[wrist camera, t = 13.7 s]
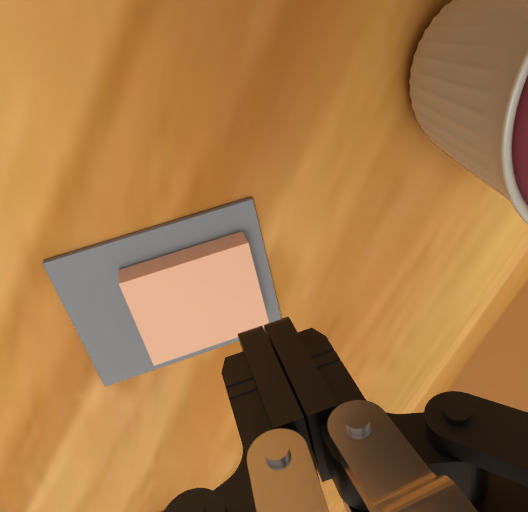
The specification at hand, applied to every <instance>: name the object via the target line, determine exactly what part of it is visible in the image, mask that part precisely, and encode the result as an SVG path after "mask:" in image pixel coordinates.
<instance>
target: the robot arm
mask: <svg viewBox="0 0 528 512" xmlns="http://www.w3.org/2000/svg"><path fill="white" fill-rule="evenodd" d="M264 330H265V331H264ZM238 338H239V341H240V345H241V348H242V351H243V352H240V353H237V354H234V355H232V356H229V357H226V358H225V361H224V365H223V369H222V376H223V379H224V383H225V386H226V389H227V393H228V396H229V400H230V403H231V407H232V410H233V414H234V417H235V420H236V424H237V427H238V431H239V434H240V438H241V441H242V445H243V455H242V460H241V462H240V465H239V466H238V468H237V470H236V471H235V473H234V474H233V475H232V476H231V477H230V478H229V479H228V480H227V481H225V482H224V483H223V484H221V485H220V486H219V487H217V488H216V489H215V490H213V491H212V490H210V489H206V488H195V489H191V490H187V491H185V492H183V493H181V494H180V495H178V496H177V497H176V498H174V499H173V500H172V501H171V502H170V503H169V505H168V506H167V507H166V509H165V510H164V512H329V509H328V506H327V503H326V500H325V497H324V494H323V491H322V488H321V485H320V481H319V477H318V473H319V475H320V477H321V480H322V482H324V481H326V480H329V479H331V478H332V479H333V482H334V484H335V486H336V488H337V490H338V492H339V495H340V496H341V498H342V499H343V503H344V506H345V508H346V510H347V512H528V412H524V411H521V410H518V409H515V408H511V407H508V406H505V405H502V404H499V403H496V402H493V401H489V400H487V399H483V398H480V397H477V396H474V395H471V394H468V393H463V392H455V391H451V392H444V393H440V394H438V395H436V396H434V397H433V398H432V399H430V400H429V402H428V403H427V404H426V407H425V411H424V412H423V413H410V414H391V413H386V412H385V411H384V410H383V409H382V408H381V407H379V406H378V405H376V404H375V403H372V402H369V401H366V399H365V398H364V396H363V395H362V393H361V392H360V390H359V388H358V387H357V385H356V384H355V382H354V380H353V379H352V377H351V376H350V374H349V373H348V371H347V369H346V368H345V366H344V365H343V363H342V361H340V358H339V357H338V355H337V353H336V352H335V351H334V349H333V347H332V345H331V344H330V342H329V341H328V339H327V337H326V336H325V335H323V334H321V333H320V332H318V331H316V330H315V329H313V328H310V329H307V330H304V331H301V332H298V333H297V331H296V329H295V327H294V325H293V324H292V322H291V320H290V318H289V317H286V318H283V319H280V320H277V321H274V322H271V323H268V324H265V325H264V328H263V326H259V327H256V328H253V329H250V330H247V331H244V332H241V333H238ZM316 468H317V469H316ZM317 470H318V473H317Z"/></svg>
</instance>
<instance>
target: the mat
mask: <svg viewBox="0 0 528 512" xmlns="http://www.w3.org/2000/svg"><path fill="white" fill-rule="evenodd" d="M241 231H242V232H243V234H244V236H245V237H246V239H247V241H248V243H249V247H250V251H251V255H252V258H253V262H254V266H255V270H256V274H257V278H258V282H259V286H260V290H261V293H262V297H263V301H264V305H265V309H266V313H267V317H268V321H269V323H271V322H274V321H277V320H280V319H281V315H280V311H279V307H278V303H277V298H276V294H275V290H274V286H273V282H272V278H271V273H270V269H269V265H268V261H267V257H266V253H265V248H264V244H263V240H262V236H261V232H260V228H259V223H258V219H257V215H256V211H255V207H254V203H253V199H252V197H249V198H245V199H242V200H239V201H236V202H232V203H229V204H226V205H223V206H219V207H216V208H213V209H209V210H206V211H203V212H200V213H196V214H193V215H190V216H187V217H183V218H180V219H177V220H174V221H170V222H167V223H164V224H160V225H157V226H154V227H151V228H147V229H144V230H141V231H138V232H134V233H131V234H128V235H125V236H121V237H118V238H115V239H111V240H108V241H105V242H102V243H98V244H95V245H92V246H89V247H85V248H82V249H79V250H76V251H72V252H69V253H66V254H62V255H59V256H56V257H53V258H49V259H46V260H43V266H44V268H45V270H46V272H47V274H48V276H49V278H50V279H51V281H52V283H53V285H54V287H55V289H56V291H57V293H58V295H59V297H60V299H61V301H62V303H63V305H64V307H65V309H66V311H67V313H68V315H69V317H70V319H71V321H72V323H73V325H74V327H75V329H76V331H77V333H78V334H79V336H80V338H81V340H82V342H83V344H84V346H85V348H86V350H87V352H88V354H89V356H90V358H91V360H92V362H93V364H94V366H95V368H96V370H97V372H98V374H99V376H100V378H101V380H102V382H103V384H104V386H105V387H106V386H108V385H111V384H114V383H117V382H120V381H123V380H126V379H129V378H132V377H135V376H138V375H140V374H143V373H146V372H149V371H152V370H155V369H158V368H161V367H164V366H167V365H170V364H172V363H175V362H178V361H181V360H184V359H187V358H190V357H193V356H196V355H199V354H202V353H204V352H207V351H210V350H213V349H216V348H219V347H222V346H225V345H228V344H231V343H234V342H236V341H239V338H238V337H237V338H234V339H231V340H228V341H225V342H222V343H219V344H216V345H214V346H211V347H208V348H205V349H202V350H199V351H196V352H193V353H190V354H187V355H184V356H181V357H179V358H176V359H173V360H170V361H167V362H164V363H161V364H158V365H155V366H154V365H153V363H152V360H151V358H150V356H149V353H148V351H147V349H146V346H145V344H144V342H143V339H142V337H141V335H140V332H139V330H138V328H137V325H136V323H135V321H134V318H133V316H132V314H131V311H130V309H129V307H128V304H127V302H126V300H125V297H124V295H123V293H122V290H121V288H120V286H119V275H118V270H120V269H123V268H126V267H129V266H132V265H136V264H139V263H142V262H145V261H148V260H152V259H155V258H158V257H161V256H164V255H167V254H171V253H174V252H177V251H180V250H183V249H187V248H190V247H193V246H196V245H199V244H202V243H206V242H209V241H212V240H215V239H218V238H221V237H225V236H228V235H231V234H234V233H237V232H241ZM264 331H265V330H264Z"/></svg>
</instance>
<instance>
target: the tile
mask: <svg viewBox="0 0 528 512" xmlns="http://www.w3.org/2000/svg"><path fill="white" fill-rule="evenodd" d="M118 275H119V286H120V288H121V290H122V293H123V295H124V297H125V300H126V302H127V304H128V307H129V309H130V311H131V314H132V316H133V318H134V321H135V323H136V325H137V328H138V330H139V332H140V335H141V337H142V339H143V342H144V344H145V346H146V349H147V351H148V353H149V356H150V358H151V360H152V363H153V365H154V366H155V365H158V364H161V363H164V362H167V361H170V360H173V359H176V358H179V357H181V356H184V355H187V354H190V353H193V352H196V351H199V350H202V349H205V348H208V347H211V346H214V345H216V344H219V343H222V342H225V341H228V340H231V339H234V338H237V337H238V333H241V332H244V331H247V330H250V329H253V328H256V327H259V326H263V328H264V325H265V324H268V323H269V321H268V317H267V313H266V309H265V305H264V301H263V297H262V293H261V290H260V286H259V282H258V278H257V274H256V270H255V266H254V262H253V258H252V255H251V251H250V247H249V243H248V241H247V239H246V237H245V236H244V234H243V232H242V231H241V232H237V233H234V234H231V235H228V236H225V237H221V238H218V239H215V240H212V241H209V242H206V243H202V244H199V245H196V246H193V247H190V248H187V249H183V250H180V251H177V252H174V253H171V254H167V255H164V256H161V257H158V258H155V259H152V260H148V261H145V262H142V263H139V264H136V265H132V266H129V267H126V268H123V269H120V270H118Z"/></svg>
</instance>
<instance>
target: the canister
mask: <svg viewBox="0 0 528 512" xmlns="http://www.w3.org/2000/svg"><path fill="white" fill-rule="evenodd" d="M410 71H411V76H410V80H409V84H410V93H409V95H410V98H411V101H412V104H411V107H412V109H413V111H414V113H415V118H416V120H417V122H418V123H419V124H420V127H421V129H422V131H423V132H424V133H425V134H426V135H427V136H428V137H429V139H430V140H431V141H432V142H433V143H434V144H435V145H436V146H437V147H439V148H440V149H441V150H442V151H444V152H445V153H446V154H447V155H449V156H450V157H451V158H453V159H454V160H455V161H456V162H458V163H459V164H460V165H462V166H463V167H464V168H465V169H467V170H468V171H469V172H471V173H472V174H474V175H475V176H476V177H478V178H479V179H480V180H482V181H483V182H485V183H486V184H487V185H489V186H490V187H492V188H493V189H494V190H496V191H497V192H499V193H500V194H501V195H503V196H504V197H505V198H507V199H508V200H509V201H511V203H512V205H513V207H514V208H515V210H516V211H517V213H518V214H519V216H520V217H521V218H522V219H523V220H524V221H525V222H526V223H527V224H528V0H452V1H451V2H450V3H449V4H446V5H445V6H444V7H443V8H442V9H441V11H440V12H439V14H438V15H437V16H435V17H434V18H433V19H432V22H431V24H430V25H429V27H428V28H427V29H426V30H425V31H424V34H423V37H422V38H421V40H420V41H419V43H418V48H417V50H416V53H415V54H414V56H413V63H412V67H411V69H410Z"/></svg>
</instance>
